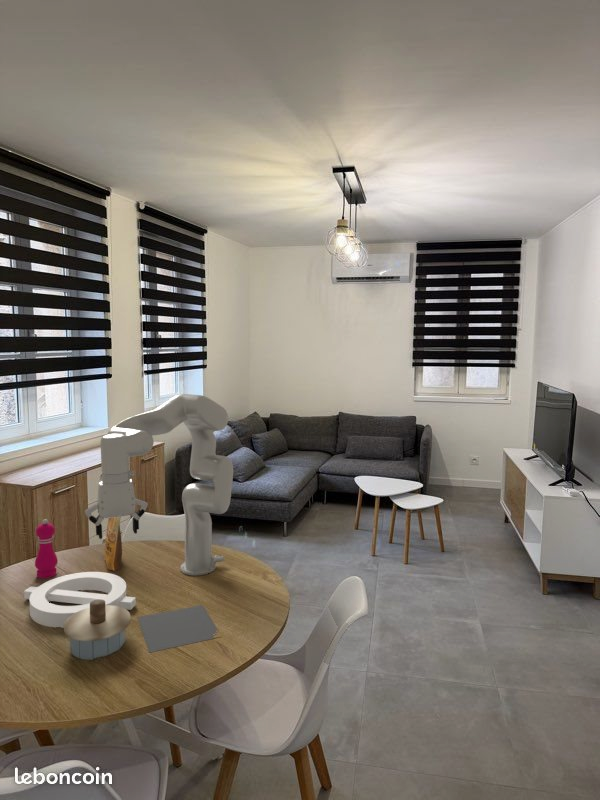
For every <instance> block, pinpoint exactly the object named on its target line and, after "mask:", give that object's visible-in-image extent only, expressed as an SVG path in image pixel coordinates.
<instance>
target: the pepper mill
mask: <svg viewBox="0 0 600 800" xmlns="http://www.w3.org/2000/svg"><path fill="white" fill-rule="evenodd" d="M55 532H56V529H55V525H53V524H52V523H49V520H48V519H47V518H44V519H43V520H42V523H41V524H39V525H38V526H37V527H36V529H35V535H36V536H37V543H38V544H39V549H38V551H37V552H38V553H37V556H36V557H35V561H34V567H35V568H36V569H37V570H36V577H37V578H39V579H49V578H52V577H54V576H56V575H57V568H56V566H57V565H58V556H57V554H56V552H55V551H54V547H53V541H54V540H55V539H54V534H55Z"/></svg>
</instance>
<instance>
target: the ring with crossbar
mask: <svg viewBox="0 0 600 800" xmlns="http://www.w3.org/2000/svg"><path fill="white" fill-rule="evenodd" d="M78 590H81V591H78ZM86 591H98V592H103V593H98V592H97V593H96V592H86ZM104 593H106V594H104ZM23 598H24V599H23V600H29V616H30V618H31V619H32V620H33V622H35V623H37V624H40V625H41V626H44V627H50V628H56V627H61V628H62V629H64V623H65V621H66V620H67V619H68V618H69V617H70V616H71V615H73V614H74V613H76V612H78V611H81V610H83V609H86V608H90V602H92V601H94V600H99V599H100V600H104V601H105V605H112V606H118V607H122V608H124V609H126V610H127V611H129V610H130V611H131V610H133V608H134V607H135V606H136V603H137V601H136V599H137V598H136V597H134V596H127V582H126V581H125V579H123V578H122V577H121V576H119V575H116V574H114V573H109V572H102V571H82V572H81V571H80V572H76V573H70V574H66V575H61V576H58V577H55V578H53V579H50V580H48V581H45V582H44V583H42V584H40V585H39V586H29V587H28V588H26V589H25V590H24V591H23ZM49 602H50V603H49ZM51 602H57V603H58V602H59V603H65V604H66V603H68V604H77V605H58V604H54V603H51ZM61 628H60V629H61Z"/></svg>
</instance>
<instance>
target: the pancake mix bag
mask: <svg viewBox="0 0 600 800" xmlns="http://www.w3.org/2000/svg"><path fill="white" fill-rule="evenodd" d="M121 518H122V516H120V517H113V518H107V526H106V533H105V543H104V552H103V553H104V559H105V562H106V567H107V570H109V571H113V572H116V571H117V570H119V569H120V568H121V566H122V557H123V543H122V533H121V525H120V522H121Z"/></svg>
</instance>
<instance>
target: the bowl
mask: <svg viewBox="0 0 600 800" xmlns="http://www.w3.org/2000/svg"><path fill="white" fill-rule="evenodd" d="M69 641H70V642H69V643H70V645H69V647H70V653H71V655H72V654H73V655H72V656H74V657H76V658H77V657H78V658H77V659H79V658H81V659H80V660H89V659H90V660H94V659H96V658H100V657H106V656H109V655H111V654H113V653H115V652H116V651H118V650H120V649H121V648H122V646H123V645H124V644H125V643H126V629H125V630H124V631H122V632H121V633H119V634H117V635H115V636H112V637H110V638H106V639H102V640H97V641H79V640H75V639H72V638H70V637H69ZM90 660H89V661H90Z"/></svg>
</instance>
